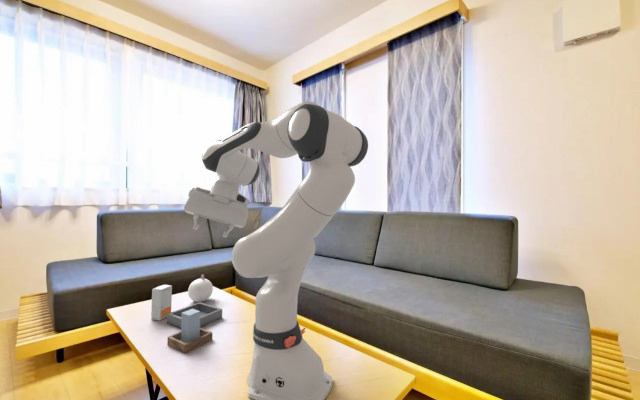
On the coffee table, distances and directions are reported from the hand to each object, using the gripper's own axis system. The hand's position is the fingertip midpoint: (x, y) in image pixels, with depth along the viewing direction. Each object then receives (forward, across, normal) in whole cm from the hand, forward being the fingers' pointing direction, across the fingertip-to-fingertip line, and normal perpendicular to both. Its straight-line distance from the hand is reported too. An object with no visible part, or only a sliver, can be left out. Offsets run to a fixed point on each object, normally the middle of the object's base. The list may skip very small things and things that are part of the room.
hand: (210, 232), depth 89 cm
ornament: (+22, +6, +50) cm, 55 cm away
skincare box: (+30, -7, +38) cm, 49 cm away
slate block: (+34, +5, +13) cm, 37 cm away
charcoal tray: (+29, +5, +29) cm, 41 cm away
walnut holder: (+34, +5, +13) cm, 37 cm away
